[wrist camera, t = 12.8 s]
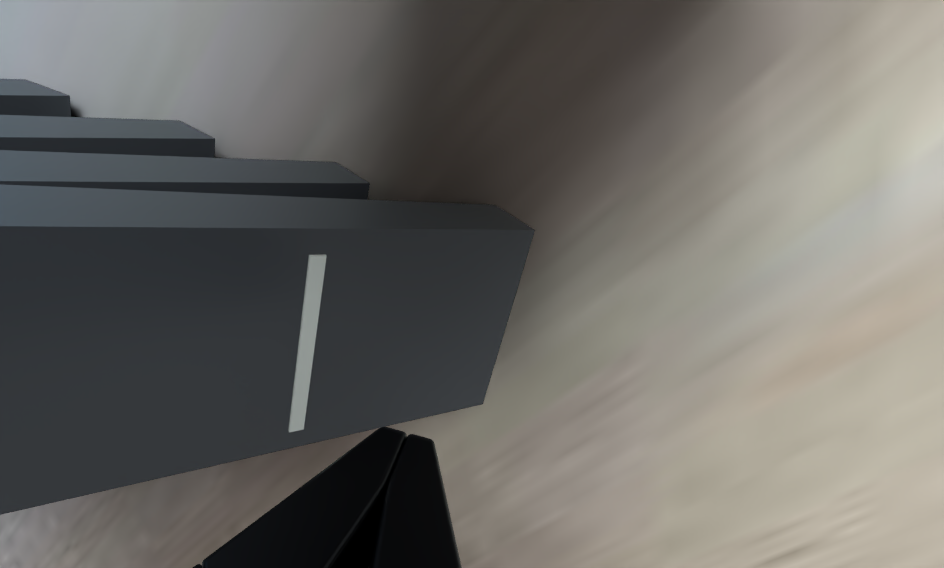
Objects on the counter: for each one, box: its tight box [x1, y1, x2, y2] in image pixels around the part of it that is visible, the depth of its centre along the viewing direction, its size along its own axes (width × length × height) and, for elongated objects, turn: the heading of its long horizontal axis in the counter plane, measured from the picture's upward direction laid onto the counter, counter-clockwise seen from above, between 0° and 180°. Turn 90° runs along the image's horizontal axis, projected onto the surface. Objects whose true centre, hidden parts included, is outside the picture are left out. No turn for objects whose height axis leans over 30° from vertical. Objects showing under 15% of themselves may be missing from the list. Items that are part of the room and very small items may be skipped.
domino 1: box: [0, 150, 370, 200], centre depth 11 cm, size 2×5×10 cm
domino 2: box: [0, 184, 535, 515], centre depth 11 cm, size 2×5×10 cm
